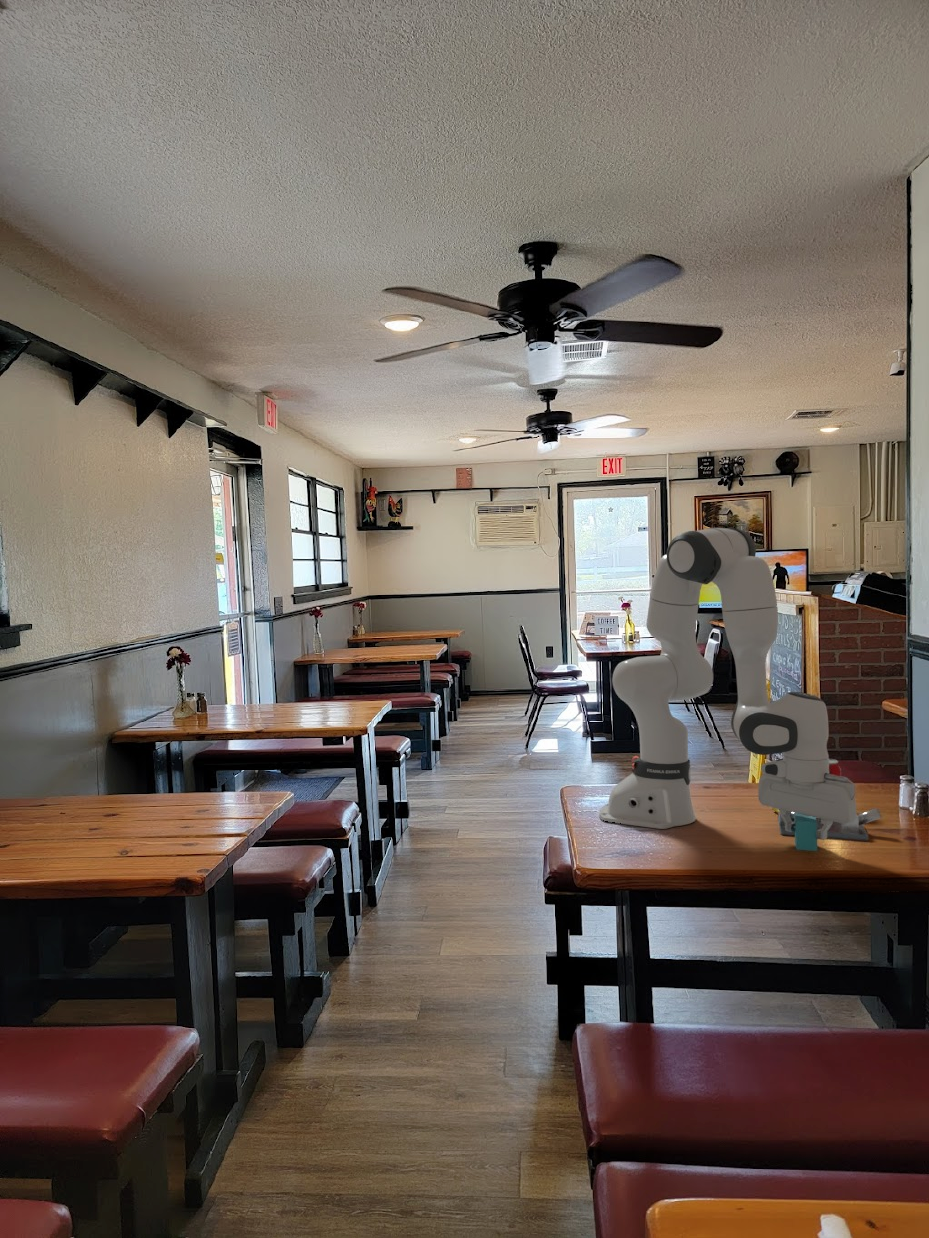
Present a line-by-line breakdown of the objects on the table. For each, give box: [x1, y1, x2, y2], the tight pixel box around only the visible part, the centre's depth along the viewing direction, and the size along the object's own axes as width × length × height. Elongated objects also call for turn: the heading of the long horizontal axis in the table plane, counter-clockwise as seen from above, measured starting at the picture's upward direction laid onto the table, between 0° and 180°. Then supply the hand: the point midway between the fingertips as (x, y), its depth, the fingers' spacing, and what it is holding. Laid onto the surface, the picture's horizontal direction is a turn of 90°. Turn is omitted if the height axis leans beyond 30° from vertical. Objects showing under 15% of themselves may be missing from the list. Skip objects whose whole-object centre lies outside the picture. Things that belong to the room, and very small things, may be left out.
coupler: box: [794, 816, 818, 852], centre depth 168 cm, size 4×4×6 cm
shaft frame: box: [777, 807, 883, 842], centre depth 178 cm, size 21×11×6 cm, turn 72°
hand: (805, 834), depth 168 cm, fingers closed on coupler, 6 cm apart
